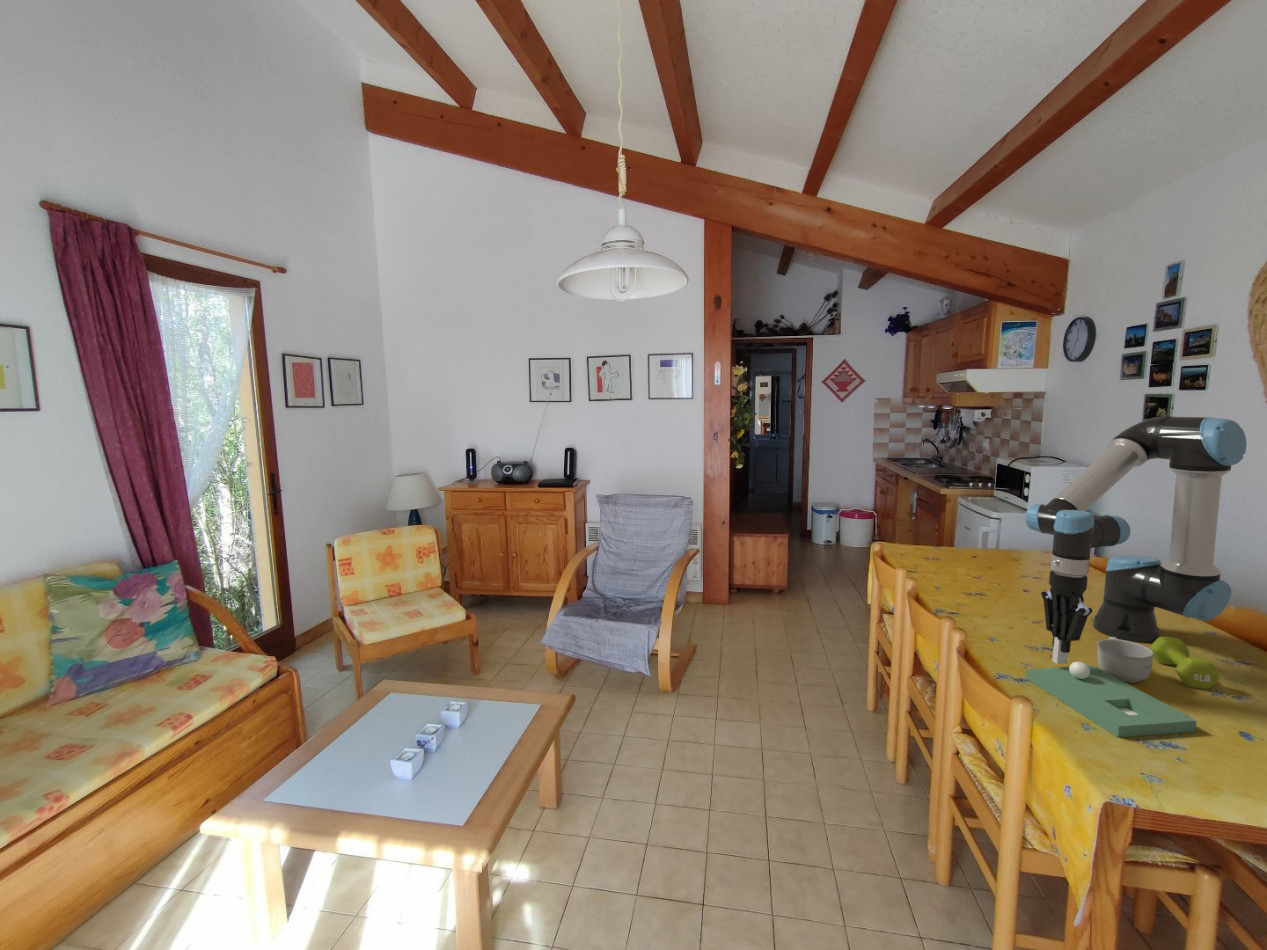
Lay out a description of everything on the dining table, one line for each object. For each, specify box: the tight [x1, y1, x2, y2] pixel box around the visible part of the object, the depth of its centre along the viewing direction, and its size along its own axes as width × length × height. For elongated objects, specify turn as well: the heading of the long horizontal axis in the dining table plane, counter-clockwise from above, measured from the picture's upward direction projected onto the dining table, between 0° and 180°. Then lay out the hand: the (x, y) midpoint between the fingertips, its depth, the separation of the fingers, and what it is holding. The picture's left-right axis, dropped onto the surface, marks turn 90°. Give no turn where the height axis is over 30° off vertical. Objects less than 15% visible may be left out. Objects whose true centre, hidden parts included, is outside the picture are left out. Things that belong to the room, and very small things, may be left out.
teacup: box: [1096, 636, 1154, 683], centre depth 146 cm, size 14×11×8 cm
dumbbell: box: [1149, 636, 1221, 690], centre depth 146 cm, size 16×8×7 cm, turn 160°
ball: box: [1068, 661, 1090, 679], centre depth 140 cm, size 4×4×4 cm
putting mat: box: [1025, 665, 1198, 738], centre depth 133 cm, size 18×25×2 cm
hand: (1059, 662), depth 146 cm, fingers closed
